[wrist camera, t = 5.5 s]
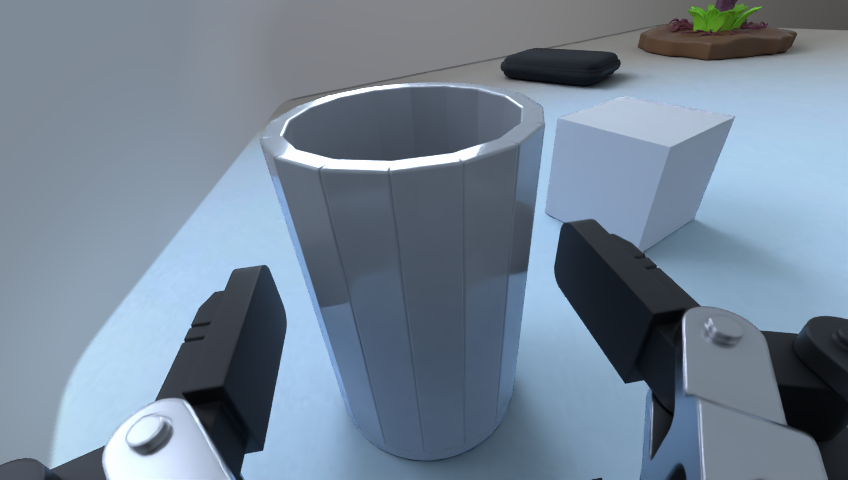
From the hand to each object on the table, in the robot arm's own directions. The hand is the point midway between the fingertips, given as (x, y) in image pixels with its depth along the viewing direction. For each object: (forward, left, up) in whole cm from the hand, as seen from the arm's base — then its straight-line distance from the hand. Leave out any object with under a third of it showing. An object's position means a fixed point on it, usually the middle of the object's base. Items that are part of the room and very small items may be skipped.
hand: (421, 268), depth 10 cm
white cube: (+9, +14, -6) cm, 17 cm away
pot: (0, +1, -6) cm, 6 cm away
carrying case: (+8, +53, -6) cm, 54 cm away
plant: (+33, +72, -6) cm, 79 cm away
